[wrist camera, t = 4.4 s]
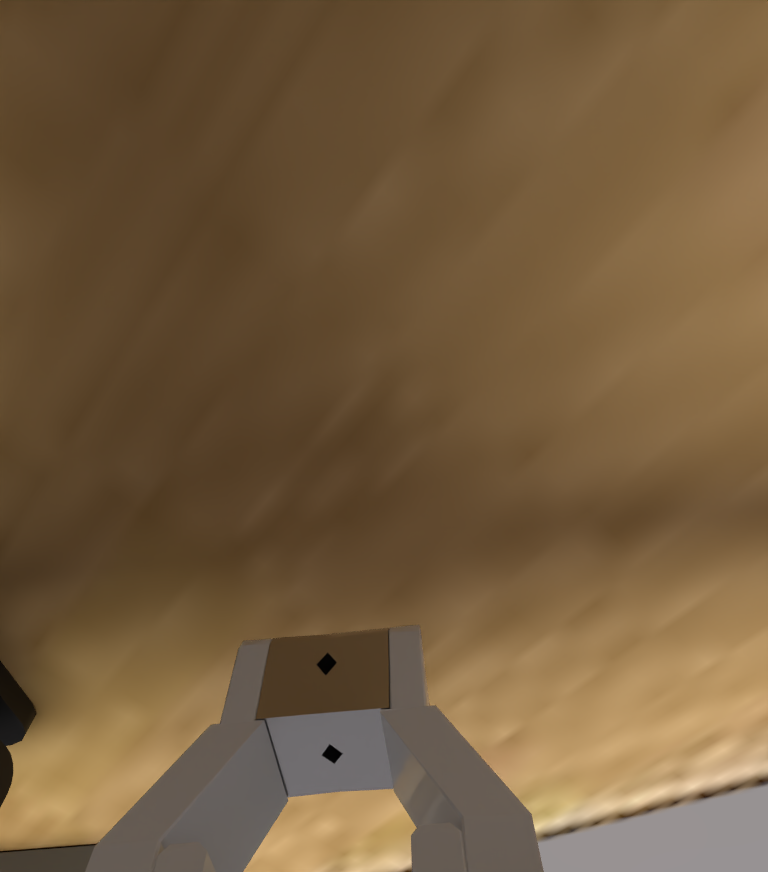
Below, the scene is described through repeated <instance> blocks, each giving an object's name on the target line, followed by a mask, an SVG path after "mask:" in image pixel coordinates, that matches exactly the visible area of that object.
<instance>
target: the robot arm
mask: <svg viewBox="0 0 768 872" xmlns="http://www.w3.org/2000/svg"><path fill="white" fill-rule="evenodd" d="M378 789H394V792H395V794H396V795H397V797H398V798H399V800H400V802H401V803H402V805H403V806H404V808H405V810H406V811H407V813H408V814H409V816H410V818H411V819H412V821H413V822H414V824H415V826H416V827H417V829H416V830H415V831H414V832H413V834H412V835H411V852H412V872H544V871H543V867H542V862H541V857H540V852H539V848H538V843H537V838H536V833H535V829H534V824H533V819H532V814H531V813H530V812H529V811H528V810H527V809H526V807H525V806H524V805H523V804H522V803H521V802H520V801H519V800H518V798H517V797H516V796H515V795H514V794H513V793H512V792H511V790H510V789H509V788H508V787H507V786H506V785H505V784H504V782H503V781H502V780H501V779H500V778H499V777H498V776H497V775H496V773H495V772H494V771H493V770H492V769H491V768H490V767H489V765H488V764H487V763H486V762H485V761H484V760H483V759H482V757H481V756H480V755H479V754H478V753H477V752H476V751H475V750H474V748H473V747H472V746H471V745H470V744H469V743H468V742H467V740H466V739H465V738H464V737H463V736H462V735H461V734H460V733H459V731H458V730H457V729H456V728H455V727H454V726H453V725H452V723H451V722H450V721H449V720H448V719H447V718H446V717H445V715H444V714H443V713H442V712H441V711H440V710H439V709H438V708H437V706H436V705H434V706H430V705H429V697H428V688H427V680H426V671H425V663H424V654H423V645H422V637H421V629H420V626H419V625H411V626H401V627H392V628H390V629H389V628H383V629H373V630H363V631H353V632H343V633H333V634H327V635H312V636H296V637H281V638H273V639H261V640H245V641H243V642H242V644H241V645H240V647H239V648H238V652H237V656H236V660H235V664H234V668H233V672H232V676H231V680H230V684H229V688H228V692H227V696H226V701H225V705H224V709H223V713H222V717H221V721H220V724H212V725H210V726H209V727H208V728H207V729H206V730H205V731H204V732H203V733H202V734H201V735H200V736H199V738H198V739H197V740H196V741H195V742H194V743H193V744H192V745H191V746H190V747H189V748H188V749H187V750H186V751H185V752H184V753H183V754H182V755H181V756H180V757H179V759H178V760H177V761H176V762H175V763H174V764H173V765H172V766H171V767H170V768H169V769H168V770H167V771H166V772H165V773H164V774H163V775H162V776H161V777H160V778H159V780H158V781H157V782H156V783H155V784H154V785H153V786H152V787H151V788H150V789H149V790H148V791H147V792H146V793H145V794H144V795H143V796H142V797H141V798H140V800H139V801H138V802H137V803H136V804H135V805H134V806H133V807H132V808H131V809H130V810H129V811H128V812H127V813H126V814H125V815H124V816H123V817H122V818H121V819H120V821H119V822H118V823H117V824H116V825H115V826H114V827H113V828H112V829H111V830H110V831H109V832H108V833H107V834H106V835H105V836H104V837H103V838H102V839H101V840H100V842H99V843H98V844H97V845H96V846H95V847H94V849H93V852H92V855H91V857H90V860H89V863H88V865H87V868H86V871H85V872H243V871H244V869H245V868H246V866H247V865H248V863H249V861H250V860H251V858H252V857H253V855H254V854H255V852H256V850H257V849H258V847H259V846H260V844H261V843H262V841H263V840H264V838H265V836H266V835H267V833H268V832H269V830H270V829H271V827H272V825H273V824H274V822H275V821H276V819H277V818H278V816H279V814H280V813H281V811H282V810H283V808H284V807H285V805H286V803H287V802H288V798H287V797H294V796H303V795H313V794H322V793H331V792H340V791H359V790H378Z"/></svg>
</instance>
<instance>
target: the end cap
mask: <svg viewBox="0 0 768 872" xmlns="http://www.w3.org/2000/svg"><path fill="white" fill-rule="evenodd" d="M35 715H36V712H35V709H34V706H33V704H32V702H31V701H30V700H29V698H28V697H27V696H26V694H25V693H24V692H23V690H22V689H21V688H20V686H19V685H18V684H17V682H16V681H15V680H14V679H13V677H12V676H11V675H10V673H9V672H8V671H7V669H6V668H5V667H4V665H3V664H2V663H1V661H0V807H1V805H2V803H3V801H4V799H5V797H6V795H7V793H8V791H9V788H10V786H11V783H12V777H13V762H12V758H11V754H10V752H9V751H8V749H7V747H6V746H8V745H13V744H15V743H17V742H19V741H22V739H23V737H24V736H25V734H26V732H27V730H28V728H29V726H30V724H31V723H32V721H33V719H34V717H35Z"/></svg>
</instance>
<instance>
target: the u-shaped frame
mask: <svg viewBox="0 0 768 872" xmlns="http://www.w3.org/2000/svg"><path fill="white" fill-rule="evenodd" d="M95 846H96V845H93V846H80V847H67V848H54V849H41V850H29V851H16V852H3V853H0V872H85V871H86V868H87V865H88V863H89V860H90V857H91V855H92V852H93V849H94V847H95Z"/></svg>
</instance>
